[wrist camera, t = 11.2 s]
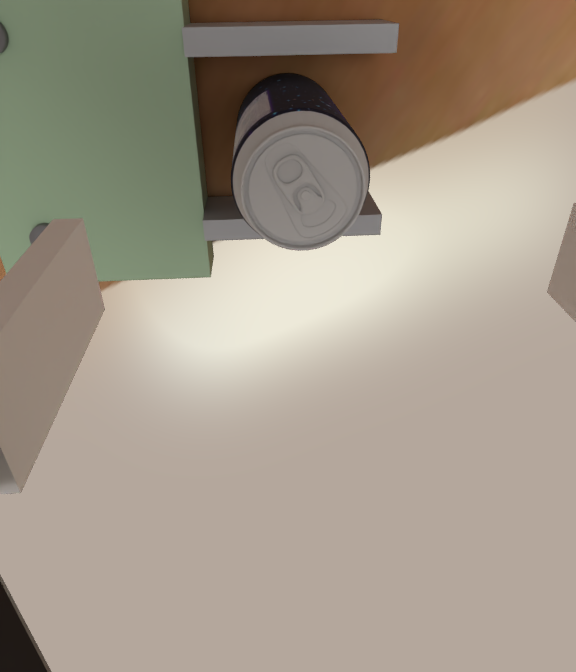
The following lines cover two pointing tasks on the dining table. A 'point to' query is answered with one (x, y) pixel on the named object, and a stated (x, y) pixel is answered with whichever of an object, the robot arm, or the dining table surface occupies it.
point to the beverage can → (297, 164)
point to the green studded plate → (132, 126)
